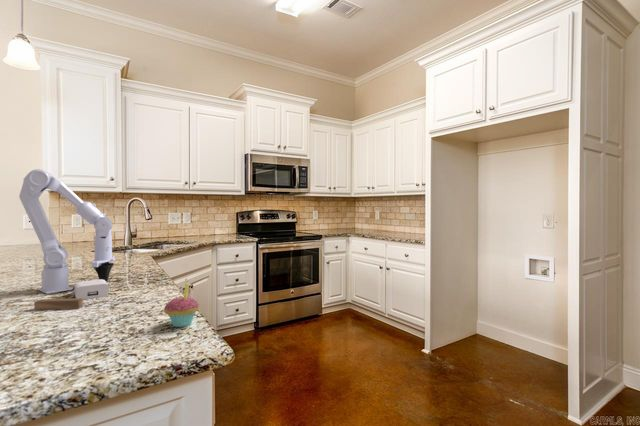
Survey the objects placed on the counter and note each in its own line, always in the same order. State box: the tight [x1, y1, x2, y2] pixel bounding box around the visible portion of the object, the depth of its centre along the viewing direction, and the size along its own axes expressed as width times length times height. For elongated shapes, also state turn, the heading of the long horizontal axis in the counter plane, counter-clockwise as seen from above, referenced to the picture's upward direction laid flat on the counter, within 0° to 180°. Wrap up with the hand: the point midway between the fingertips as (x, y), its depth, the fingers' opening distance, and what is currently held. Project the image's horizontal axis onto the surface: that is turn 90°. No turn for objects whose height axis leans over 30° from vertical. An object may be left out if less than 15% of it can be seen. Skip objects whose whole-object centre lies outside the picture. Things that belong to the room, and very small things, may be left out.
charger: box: [73, 278, 110, 301], centre depth 119 cm, size 5×9×15 cm
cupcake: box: [163, 280, 200, 328], centre depth 90 cm, size 9×8×12 cm
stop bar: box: [33, 297, 84, 311], centre depth 103 cm, size 2×12×2 cm, turn 99°
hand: (103, 282), depth 131 cm, fingers closed
